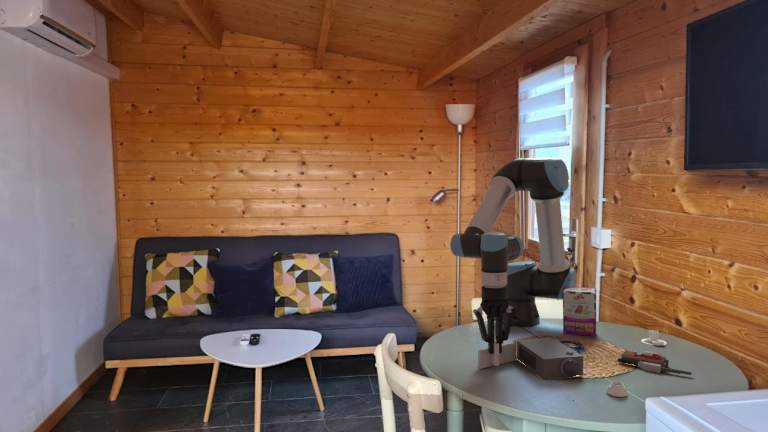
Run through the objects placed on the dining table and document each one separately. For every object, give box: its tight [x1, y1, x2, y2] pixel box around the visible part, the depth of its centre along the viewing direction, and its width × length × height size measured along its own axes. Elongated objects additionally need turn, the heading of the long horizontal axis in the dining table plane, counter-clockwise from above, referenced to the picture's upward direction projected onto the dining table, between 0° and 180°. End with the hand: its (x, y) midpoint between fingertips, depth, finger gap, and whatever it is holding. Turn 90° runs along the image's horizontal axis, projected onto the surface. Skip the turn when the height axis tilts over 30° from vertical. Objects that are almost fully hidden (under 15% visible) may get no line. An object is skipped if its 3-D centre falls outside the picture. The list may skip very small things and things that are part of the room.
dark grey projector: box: [516, 337, 584, 381], centre depth 167 cm, size 20×12×7 cm, turn 11°
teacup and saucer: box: [640, 329, 668, 347], centre depth 192 cm, size 9×8×4 cm
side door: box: [477, 340, 517, 370], centre depth 171 cm, size 15×1×6 cm, turn 122°
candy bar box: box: [562, 286, 597, 337], centre depth 201 cm, size 11×5×16 cm, turn 68°
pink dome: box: [606, 381, 629, 398], centre depth 148 cm, size 5×3×5 cm
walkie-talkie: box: [617, 349, 693, 376], centre depth 167 cm, size 9×4×20 cm
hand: (495, 364), depth 168 cm, fingers closed
